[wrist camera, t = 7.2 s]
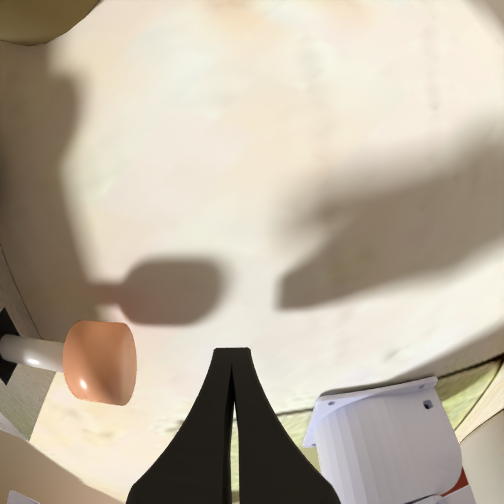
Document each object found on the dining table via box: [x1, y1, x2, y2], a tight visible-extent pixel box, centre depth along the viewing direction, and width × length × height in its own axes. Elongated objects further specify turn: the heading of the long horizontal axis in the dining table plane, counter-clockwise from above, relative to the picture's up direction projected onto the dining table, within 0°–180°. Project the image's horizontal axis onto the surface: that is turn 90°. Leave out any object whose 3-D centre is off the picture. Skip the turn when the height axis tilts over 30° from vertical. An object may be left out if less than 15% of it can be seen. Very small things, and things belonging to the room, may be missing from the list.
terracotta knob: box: [0, 320, 137, 406], centre depth 11 cm, size 7×4×4 cm, turn 90°
